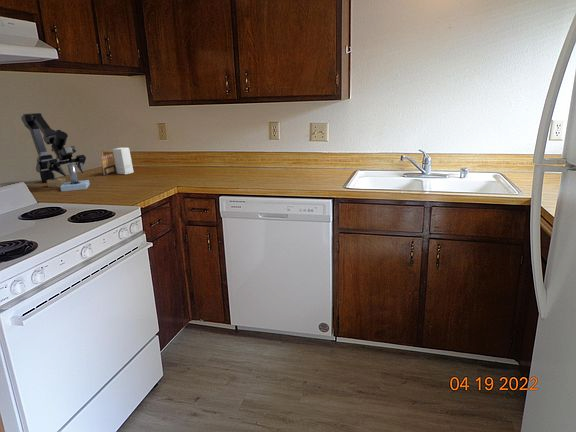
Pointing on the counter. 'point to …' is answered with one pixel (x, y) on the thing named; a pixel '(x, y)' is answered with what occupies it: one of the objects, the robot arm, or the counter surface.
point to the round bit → (73, 174)
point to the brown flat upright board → (108, 165)
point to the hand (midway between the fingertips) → (74, 174)
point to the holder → (75, 185)
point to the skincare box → (123, 160)
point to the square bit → (55, 182)
